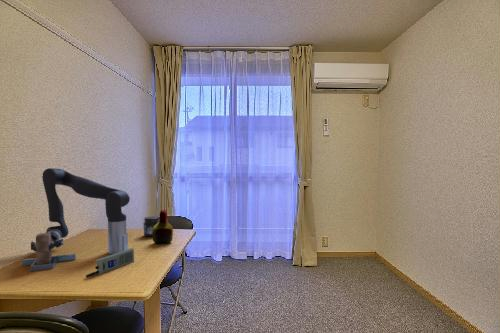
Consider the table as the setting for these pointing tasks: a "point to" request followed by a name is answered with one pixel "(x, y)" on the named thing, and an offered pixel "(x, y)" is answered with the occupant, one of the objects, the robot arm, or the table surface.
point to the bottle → (162, 230)
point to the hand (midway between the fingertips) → (42, 248)
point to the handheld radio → (113, 261)
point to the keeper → (50, 265)
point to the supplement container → (149, 225)
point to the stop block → (43, 248)
